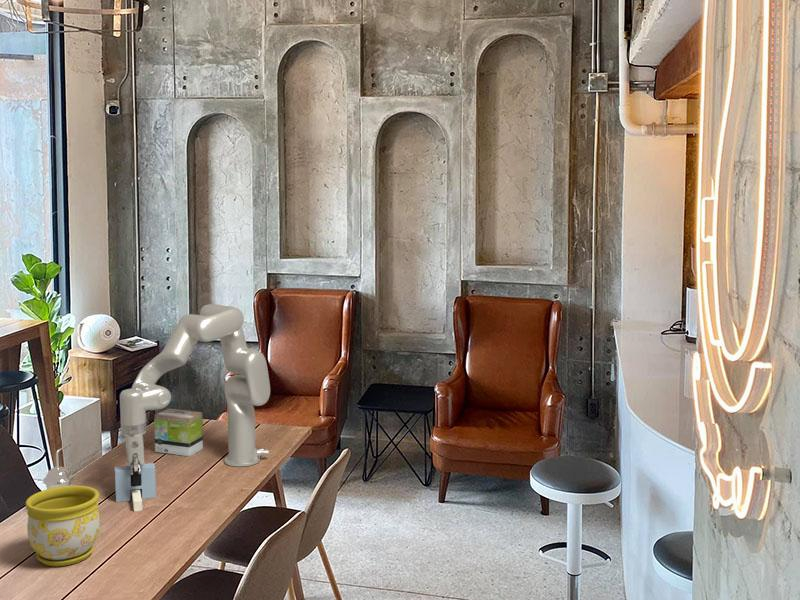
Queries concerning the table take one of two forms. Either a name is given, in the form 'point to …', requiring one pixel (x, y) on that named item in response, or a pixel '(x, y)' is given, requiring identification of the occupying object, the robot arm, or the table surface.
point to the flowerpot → (63, 524)
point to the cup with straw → (58, 474)
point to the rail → (136, 500)
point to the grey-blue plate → (125, 486)
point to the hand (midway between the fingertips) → (135, 480)
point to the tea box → (178, 432)
